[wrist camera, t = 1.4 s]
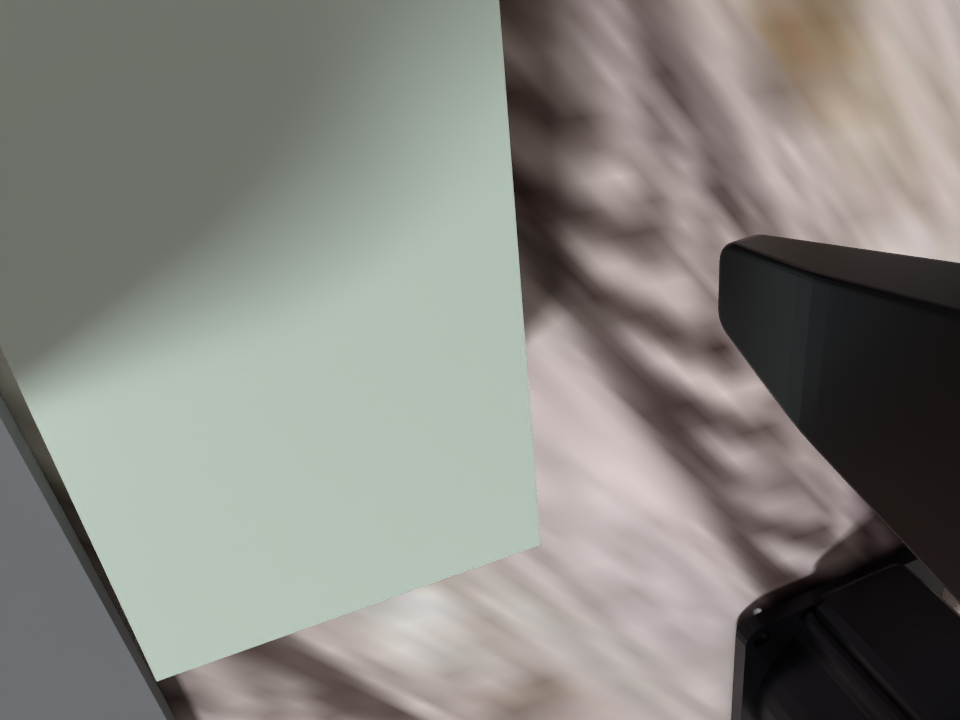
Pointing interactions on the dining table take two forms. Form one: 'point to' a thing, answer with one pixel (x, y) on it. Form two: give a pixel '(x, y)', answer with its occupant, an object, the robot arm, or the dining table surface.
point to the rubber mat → (58, 611)
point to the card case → (267, 301)
